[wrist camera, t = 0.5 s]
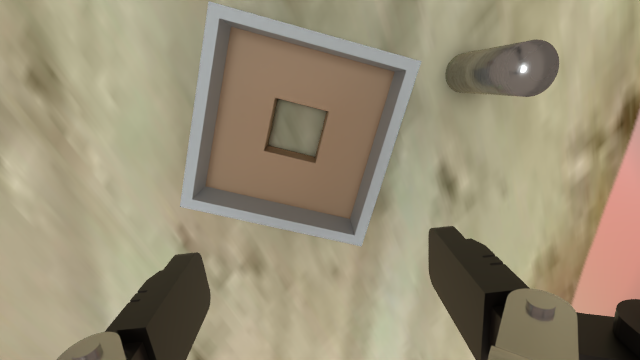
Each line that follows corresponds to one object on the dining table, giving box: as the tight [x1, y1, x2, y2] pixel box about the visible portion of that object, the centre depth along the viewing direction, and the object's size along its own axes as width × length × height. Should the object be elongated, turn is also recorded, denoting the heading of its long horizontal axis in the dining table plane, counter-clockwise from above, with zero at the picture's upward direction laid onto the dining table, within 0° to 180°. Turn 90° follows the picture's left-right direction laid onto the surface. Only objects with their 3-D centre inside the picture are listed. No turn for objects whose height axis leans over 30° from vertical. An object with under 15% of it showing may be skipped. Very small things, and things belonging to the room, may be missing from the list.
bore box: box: [180, 1, 421, 246], centre depth 32 cm, size 18×18×7 cm
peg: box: [446, 40, 559, 97], centre depth 29 cm, size 4×4×11 cm
